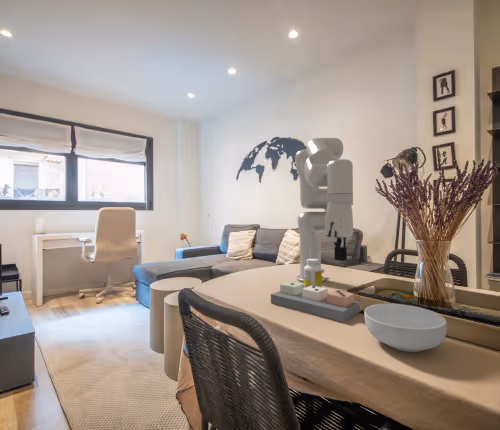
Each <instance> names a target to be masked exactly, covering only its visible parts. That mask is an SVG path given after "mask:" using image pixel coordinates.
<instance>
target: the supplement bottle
mask: <svg viewBox="0 0 500 430" xmlns="http://www.w3.org/2000/svg"><path fill="white" fill-rule="evenodd" d="M318 264H319V260H318V259H307V266H305V267H304V282H303V284H304V288H306V287H309V286H317V287H322V288H323V282H322V276H323V273H322V269H323V268H322V266H321V267H320V266H318Z"/></svg>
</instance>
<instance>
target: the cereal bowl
mask: <svg viewBox="0 0 500 430" xmlns="http://www.w3.org/2000/svg"><path fill="white" fill-rule="evenodd" d="M364 323H365V327H366V328H367V330H368V331H369V333H370V334H371V335H372V336H373V338H375V339H377V340H378V341H380V342H381V343H383V344H386V345H387V346H389V347H390V348H392V349H395V350H398V351H401V352H407V353H418V352H422V351H424V350H430V349H433V348H435V347H437V346H438V347H439V345H441V343H442V342H443V341H444V340H445V338H446V335H447V328H448V327H447V325H448V324H447V320H446V318H445V317H444V315H441V314H440V313H438V312H436V311H433V310H430V309H427V308H423V307H421V306H415V305H409V304H403V303H378V304H377V303H376V304H372V305H369V306H367V307H366V308H365V309H364Z"/></svg>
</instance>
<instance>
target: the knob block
mask: <svg viewBox="0 0 500 430" xmlns="http://www.w3.org/2000/svg"><path fill="white" fill-rule="evenodd" d="M303 288H304V283H300V282H295V281H287V282H284V283H280V285H279V289H280V290H279V291H280V293H283V294H287V295H292V296H297V295H300V294H302V289H303Z"/></svg>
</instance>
